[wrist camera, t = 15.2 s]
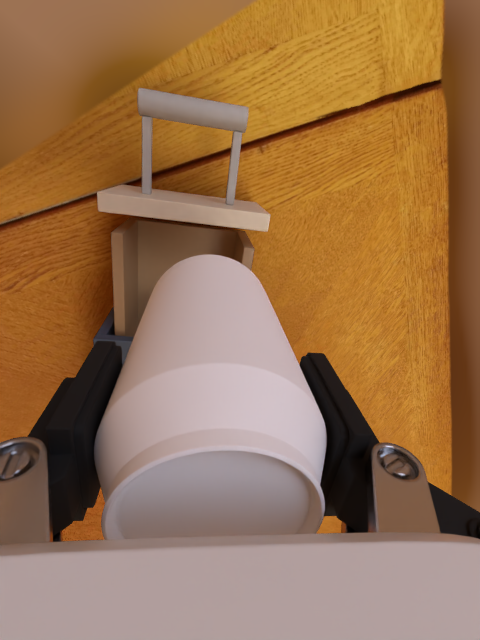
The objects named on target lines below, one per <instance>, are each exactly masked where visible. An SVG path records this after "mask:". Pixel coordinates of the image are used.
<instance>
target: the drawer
mask: <svg viewBox="0 0 480 640" xmlns="http://www.w3.org/2000/svg"><path fill="white" fill-rule="evenodd" d="M137 102H138V112H139V115H140V116H142V187H136V186H129V185H119V186H116V187H112V188H109V189H106V190H103V191H99V192H97V201H98V211H99V212H108V213H116V214H124V215H132V216H141V217H149V218H157V219H165V220H174V221H182V222H190V223H198V224H207V225H215V226H223V227H232V228H240V229H248V230H256V231H265V232H267V231H268V226H269V220H270V214H269V213H268V212H267V211H265V210H264V209H263V208H262V207H261V206H260V205H258V204H257V203H256V202H248V201H241V200H234V198H235V190H236V181H237V173H238V165H239V156H240V148H241V140H242V133H245V131H246V127H247V121H248V107H245V106H239V105H234V104H228V103H222V102H217V101H211V100H205V99H200V98H194V97H189V96H183V95H177V94H172V93H166V92H161V91H155V90H149V89H144V88H139V90H138V98H137ZM152 118H157V119H163V120H169V121H175V122H181V123H187V124H193V125H199V126H205V127H211V128H217V129H224V130H230V131H234V132H233V137H232V146H231V155H230V165H229V174H228V183H227V192H226V198H219V197H211V196H204V195H196V194H189V193H181V192H174V191H166V190H159V189H152V122H153V119H152ZM111 249H112V274H113V299H114V324H115V336H130V337H134V336H135V334H136V331H137V328H138V326H139V323H140V321H141V318H142V316H143V313H144V311H145V308H146V306H147V303H148V301H149V298H150V296H151V294H152V291H153V289H154V287H155V285H156V284H157V282H158V280H159V279H160V278H161V276H162V275H163V274H164V273H165V272H166V271H167V270H168V269H169V268H171V267H172V266H173V265H175V264H176V263H178V262H180V261H182V260H184V259H187V258H189V257H193V256H197V255H208V254H210V255H220V256H225V257H228V258H231V259H233V260H236V261H238V262H239V263H241V264H243V265H244V266H246V267H247V268H248V269H249V270H250V271H251V268H252V262H253V255H254V247H253V245H252V243H251V242H250V240H249V238H248V236H247V234H246V232H245V231H239V230H231V229H223V228H214V227H206V226H198V225H189V224H181V223H173V222H164V221H156V220H148V219H139V218H131V217H130V218H129V219H128V220H126V221H125V222H124V223H122V224H121V225H120V226H119V227H117V228H116V229H115V230H113V231H112V232H111Z"/></svg>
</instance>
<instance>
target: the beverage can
mask: <svg viewBox="0 0 480 640" xmlns="http://www.w3.org/2000/svg"><path fill="white" fill-rule="evenodd" d="M326 448H327V432H326V426H325V422H324V419H323V417H322V414H321V412H320V410H319V408H318V405H317V403H316V401H315V399H314V397H313V394H312V392H311V390H310V388H309V386H308V383H307V381H306V379H305V377H304V375H303V372H302V370H301V368H300V366H299V364H298V361H297V359H296V357H295V355H294V353H293V351H292V348H291V346H290V344H289V342H288V340H287V337H286V335H285V333H284V331H283V329H282V327H281V324H280V322H279V320H278V318H277V316H276V313H275V311H274V309H273V307H272V305H271V303H270V301H269V298H268V296H267V294H266V292H265V290H264V288H263V286H262V285H261V283H260V281H259V280H258V278H257V277H256V276H255V275H254V274H253V273H252V272H251V271H250V270H249V269H248V268H247V267H246V266H244V265H243V264H241V263H239V262H238V261H236V260H233V259H231V258H228V257H225V256H220V255H210V254H208V255H197V256H193V257H189V258H187V259H184V260H182V261H180V262H178V263H176V264H175V265H173V266H172V267H171V268H169V269H168V270H167V271H166V272H165V273H164V274H163V275H162V276H161V278H160V279H159V280H158V282H157V284H156V285H155V287H154V289H153V291H152V294H151V296H150V298H149V301H148V303H147V306H146V308H145V311H144V313H143V316H142V318H141V321H140V323H139V326H138V328H137V331H136V334H135V336H134V339H133V341H132V344H131V346H130V349H129V351H128V354H127V356H126V359H125V361H124V364H123V367H122V369H121V372H120V374H119V377H118V379H117V382H116V384H115V387H114V390H113V392H112V395H111V397H110V400H109V402H108V405H107V407H106V410H105V412H104V415H103V418H102V420H101V423H100V425H99V428H98V431H97V434H96V438H95V443H94V461H95V467H96V471H97V474H98V478H99V482H100V485H101V489H102V493H103V496H104V500H105V506H104V509H103V513H102V519H101V527H102V533H103V537H104V539H105V540H115V539H145V538H175V537H210V536H245V535H283V534H316V533H317V531H318V529H319V527H320V525H321V523H322V520H323V517H324V512H325V500H324V495H323V492H322V489H321V486H320V483H321V477H322V471H323V466H324V460H325V455H326Z"/></svg>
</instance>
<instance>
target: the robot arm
mask: <svg viewBox="0 0 480 640" xmlns="http://www.w3.org/2000/svg"><path fill="white" fill-rule="evenodd" d="M300 368H301V370H302V372H303V375H304V377H305V379H306V381H307V383H308V386H309V388H310V390H311V392H312V394H313V397H314V399H315V401H316V403H317V405H318V408H319V410H320V412H321V414H322V417H323V419H324V422H325V426H326V432H327V448H326V455H325V460H324V466H323V471H322V477H321V483H320V486H321V489H322V492H323V495H324V500H325V512H324V516H337V518H338V519H340V520H341V521H342V523H341V533H328V534H283V535H245V536H210V537H175V538H145V539H115V540H85V541H63V538H62V530H63V529H65V528H66V527H67V526H69V525H70V524H72V522H73V521H83V519H84V516H85V513H86V510H87V508H93V507H94V505H95V503H96V499H97V496H98V493H99V490H100V487H101V485H100V482H99V478H98V474H97V471H96V467H95V461H94V443H95V438H96V434H97V431H98V428H99V425H100V423H101V420H102V418H103V415H104V412H105V410H106V407H107V405H108V402H109V400H110V397H111V395H112V392H113V390H114V387H115V384H116V382H117V379H118V377H119V374H120V372H121V369H122V348H121V346H116V343H115V341H99V340H98V341H97V342H96V343H95V345H94V346H93V348H92V350H91V352H90V353H89V355H88V357H87V358H86V360H85V362H84V363H83V365H82V367H81V368H80V370H79V372H78V374H77V375H76V377H75V378H65V379H64V380H63V382H62V383H61V385H60V386H59V388H58V390H57V391H56V393H55V394H54V396H53V397H52V399H51V401H50V402H49V404H48V405H47V407H46V408H45V410H44V412H43V413H42V415H41V416H40V418H39V419H38V421H37V423H36V424H35V426H34V427H33V429H32V430H31V432H30V434H29V435H28V437H18V438H13V439H10V440H7V441H4V442H1V443H0V640H480V513H479V512H478V511H476V510H475V509H473V508H471V507H470V506H468V505H466V504H465V503H463V502H461V501H459V500H458V499H456V498H454V497H453V496H451V495H449V494H448V493H446V492H444V491H443V490H441V489H439V488H437V487H436V486H434V485H432V484H431V483H429V482H428V481H427V477H426V473H425V470H424V468H423V466H422V464H421V463H420V461H419V460H418V459H417V458H416V457H415V456H414V455H413V454H412V453H411V452H409V451H408V450H406V449H404V448H403V447H400V446H398V445H396V444H392V443H379V441H378V439H377V438H376V436H375V434H374V433H373V431H372V430H371V428H370V426H369V425H368V423H367V421H366V420H365V418H364V417H363V415H362V413H361V412H360V410H359V408H358V407H357V405H356V404H355V402H354V400H353V399H352V397H351V395H350V394H349V392H348V391H347V390H346V389H345V387H344V386H343V384H342V382H341V381H340V379H339V377H338V376H337V374H336V373H335V371H334V369H333V368H332V366H331V364H330V363H329V361H328V359H327V358H326V356H325V355H324V354H322V353H307V355H306V356H303V357H302V358H301V362H300Z"/></svg>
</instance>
